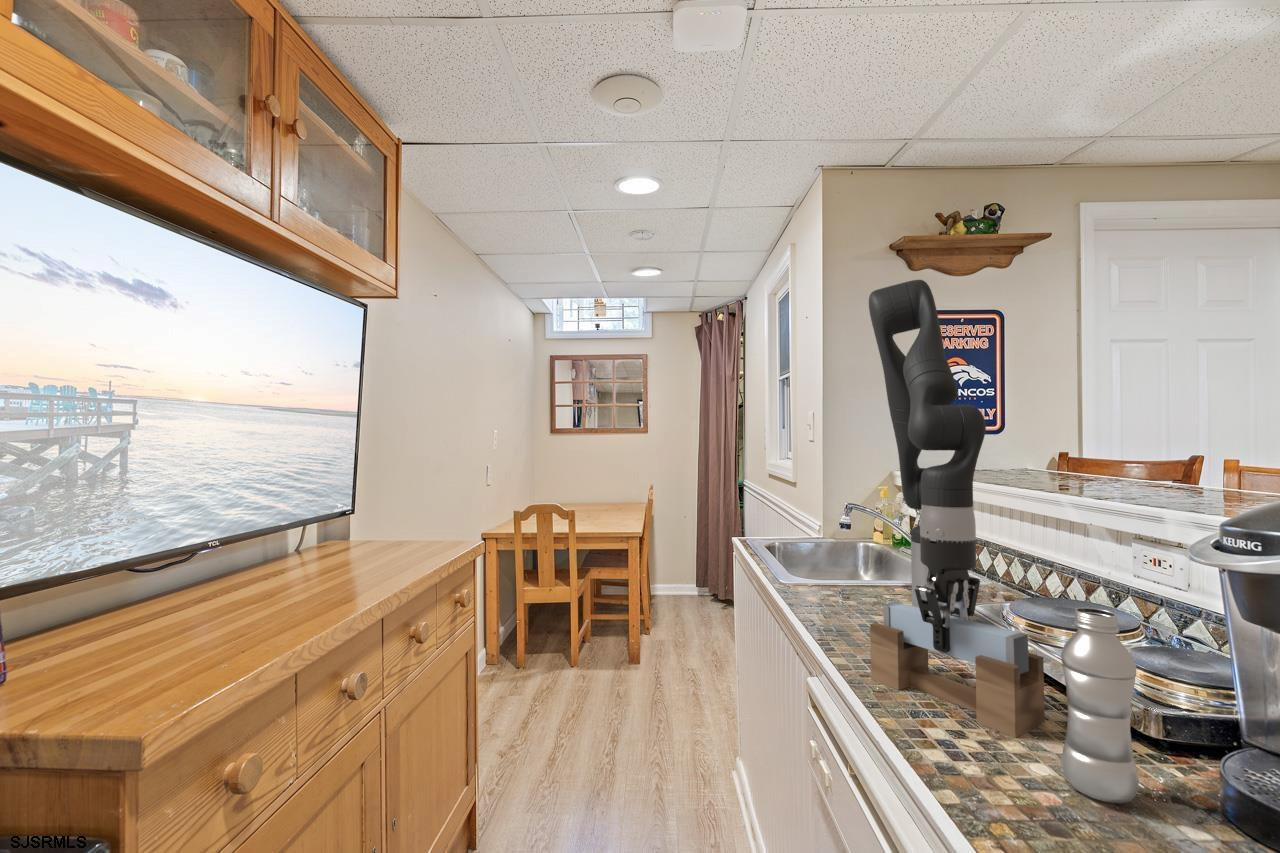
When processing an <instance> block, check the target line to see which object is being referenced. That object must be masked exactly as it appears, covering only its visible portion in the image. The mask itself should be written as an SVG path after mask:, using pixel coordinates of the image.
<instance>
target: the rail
mask: <svg viewBox="0 0 1280 853" xmlns="http://www.w3.org/2000/svg"><path fill="white" fill-rule="evenodd" d="M882 606H883V625H886V626H889V627H892V628H895V629H899V630H902V631H903V633H904V642H906V643H909V644H913V645H916V646H919V647H922V648H926V649H928V651H929V650H930V651H933V652H935V653H939V654H942V655H945V656H948V657H951V658H956V659H958V660H962V661H964V662H969V663H971V664H974V665H976V663H975V657H977V656H979V655H983V656H987V657H990V658H993V659H996V660H1000V661H1003V662H1006V663H1009V664H1013V665H1016V666H1019V667H1020V674H1022V673H1025V672H1027V671H1029V656H1028V653H1029V636H1028V635H1029V634H1028V633H1025V632H1019V631H1014V630H1011V629H1006V628H1003V627H999V626H996V625H995V626H994V625H990V624H987V623H982V622H978V621H974V620H970V619H968V620H967V619H963V618H959V617H955V616H951V615H950V624H949V627H948V628H950V651H949V652H947V653H944V652H941V651H938V650H935V649H934V647H933V626H932V624H930V623H928V622H924V621H923V619H922V616H921V612H920V608H918V607H914V606H912V605H909V604H907V603H906V604H905V603H903V602H899V601H896V602H892V603H888V604H884V605H882ZM928 612H929V615H930V611H928ZM941 616H942V618H943V614H942V613H941Z"/></svg>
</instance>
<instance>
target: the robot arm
mask: <svg viewBox="0 0 1280 853" xmlns="http://www.w3.org/2000/svg"><path fill="white" fill-rule="evenodd" d="M868 310H869V311H868V312H869V317H870V320H871V321H870V322H871V326H872V329H873V333H874V336H875V341H876V344H877V348H878V352H879V357H880V361H881V365H882V369H883V375H884V376H883V377H884V382H885V390H886V396H887V403H888V408H889V413H890V420H891V424H892V427H893V431H894V438H895V441H896V447H897V454H898V462H899V463H898V464H899V470H900V480H901V491H902V497H903V500H904V502H905V505H906V506H907V507H908V508H910V509H911V510H912V509H913V510H918V511H920V515H919V525H915V526H914V527H912V528H911V530H910V553H911V554H910V556H911V557H910V558H911V563H910V564H911V606H914V607H918V608H920V612H921V616H922V619H923V621H924V622H928V623H930V624H932V626H933V647H934V649H935V650H938V651H941V652H944V653H947V652H949V651H950V628H948V627H949V624H950V615H951V616H955V617H959V618H963V619H967V620H969V617H973V616H974V615H975V611H976V606H977V601H978V595H979V591H980V585H981V580H980V579H979V578H977V577H973V576H972V577H971V576H970V573H969V571H972V570H973V569H975V568H976V567H977V537H976V536H977V532H976V525H977V524H976V518H975V511H974V476H975V472H976V466H977V462H978V458H979V455H980V452H981V448H982V446H983V443H984V439H985V435H986V430H987V429H986V428H987V427H986V426H987V425H986V419H985V417H984V414H983V413H982V411H981V410H980V409H979V408H977V407H976V406H975V405H972V404H953V403H954V402H955V401H956V399H957V397H958V392H959V391H958V385H957V383H956V379H955V378H954V375H953V372H952V370H951V367H950V364H949V362H948V358H947V356H946V352H945V347H944V346H945V345H944V341H943V335H942V330H941V324H940V320H939V315H938V311H937V306H936V301H935V298H934V295H933V292H932V290H931V287H930V285H929V284H928V283H927V281H925V280H923V279H912V280H908V281H904V282H900V283H897V284H893V285H889V286H886V287H882V288H879V289H875V290H873V291H871V293H870V294H869V296H868ZM915 330H919V331H918V334H917V336H916V338H915V340H914V341H913V344H911V347H910V348H909V350H908V351H907V353H906V355H905V354H904V352H902V350H901V349H900V348H899V346H898V345H897V343H896V341H895V340H894V335H898V334H901V333H906V332H911V331H915ZM922 451H954V453H953V455H952V457H951V458H950V460H949V461H947V462H946V463H943V464H938V465H932V466H929V467H925V468H924V467H919V464H918V463H919V462H918V459H919V457H920V454H921V453H922ZM928 611H930V615H929V612H928ZM941 613H942V614H943V618H942V616H941Z"/></svg>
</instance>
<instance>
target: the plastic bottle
mask: <svg viewBox="0 0 1280 853" xmlns="http://www.w3.org/2000/svg"><path fill="white" fill-rule="evenodd" d="M1073 621H1074V622H1073V624H1074V627H1076V628H1077V631H1076V632H1074V633H1073V634H1072V635H1071V636H1070V637H1069V638H1068V640H1067V641H1066V642H1065V643H1064V645H1063V647H1062V650H1061V653H1060V657H1061V663H1062V670H1063V671H1062V672H1063V675H1064V682H1065V687H1066V701H1067V712H1068V713H1067V721H1066V722H1067V725H1066V732H1065V741H1064V744H1063V746H1062V754H1061V760H1060V761H1061V766H1062V772H1063V774H1064V776H1065V778H1066V779H1067V781H1068V783H1069V784H1070V785H1071V786H1072V787H1073V788H1074V790H1077V791H1078V792H1080V793H1082V794H1083V795H1085V796H1087V797H1090V798H1092V799H1095V800H1098V801H1101V802H1104V803H1105V802H1106V803H1109V804H1120V805H1121V804H1123V805H1124V804H1128V803H1130V802H1131V801H1132V800H1133V799H1134V798H1135V797H1136V796H1137V794H1138V789H1139V784H1140V778H1139V773H1138V768H1137V764H1136V760H1135V758H1134V752H1133V751H1134V750H1133V742H1132V733H1131V715H1132V700H1133V693H1134V690H1135V689H1134V688H1135V685H1136V684H1135V683H1136V677H1137V664H1136V662H1135V659H1134V657H1133V656H1132V654H1131V653H1130V651H1129V650H1128V649H1127V647H1126V646H1125V645H1124V644H1123V643H1122V642H1121V640H1120V639H1119V638H1118V637H1117V634H1119V633H1120V627H1119V624H1118V623H1119V622H1118V621H1119V620H1118V615H1117V614H1116V613H1115V612H1113V611H1110V610H1105V609H1101V608H1095V607H1094V608H1093V607H1076V608H1074V620H1073Z"/></svg>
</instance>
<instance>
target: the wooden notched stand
mask: <svg viewBox="0 0 1280 853" xmlns="http://www.w3.org/2000/svg"><path fill="white" fill-rule="evenodd" d="M869 627H870V628H869V630H870V631H869V632H870V635H869V637H870V643H869V644H870V680H872V681H874V682H876V683H879V684H881V685H884V686H886V687H889V688H892V689H893V690H894V689H895V690H897V691H901V690H904V689H906V688H908V687H911V688H914V689H916V690H919V691H921V692H924V693H926V694H929V695H931V696H934V697H936V698H940V699H941V700H944V701H947V702H950V703H952V704H954V705H957V706H960V707H962V708H965V709H968V710H969V711H973V712H975V713H976V723H977V724H980V725H982V726H985V727H988V728H990V729H993V730H995V731H997V732H999V733H1002V734H1005V735H1007V736H1009V737H1012V738H1015V739H1016V738H1018V737H1020V736H1023V735H1024V734H1026V733H1028V732H1029V731H1031V730H1033V729H1035V728H1037V727H1039V726H1041V725H1043V724H1045V723H1046V721H1045V720H1046V718H1045V716H1046V714H1045V713H1046V712H1045V710H1046V709H1045V707H1046V706H1045V671H1044V668H1045V666H1044V664H1045V662H1044V656H1041V655H1038V654H1034V653H1032V652H1031V653H1030V652H1028V656H1029V671H1027V672H1025V673H1022V674H1020V667H1019V666H1016V665H1013V664H1009V663H1006V662H1003V661H1000V660H996V659H993V658H990V657H987V656H983V655H979V656H977V657H975V663H976V664H975V687H972V686H971V685H970V686H969V685H966V684H963V683H961V682H958V681H955V680H953V679H949V678H948V677H944V676H943V675H942V676H941V675H938V674H936V673H933V672H930V671H929V649H926V648H922V647H919V646H916V645H913V644H909V643H906V642H904V633H903V631H902V630H899V629H895V628H892V627H889V626H886V625H884V624H882V623H878V622H873V623H870V624H869Z"/></svg>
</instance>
